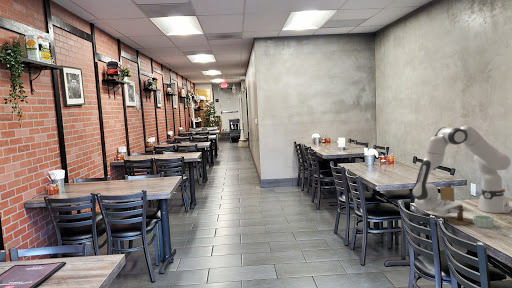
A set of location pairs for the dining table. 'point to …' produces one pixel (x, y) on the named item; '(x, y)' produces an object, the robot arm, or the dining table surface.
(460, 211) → the walnut lid
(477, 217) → the celadon bowl
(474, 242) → the dining table surface
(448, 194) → the sandwich container
